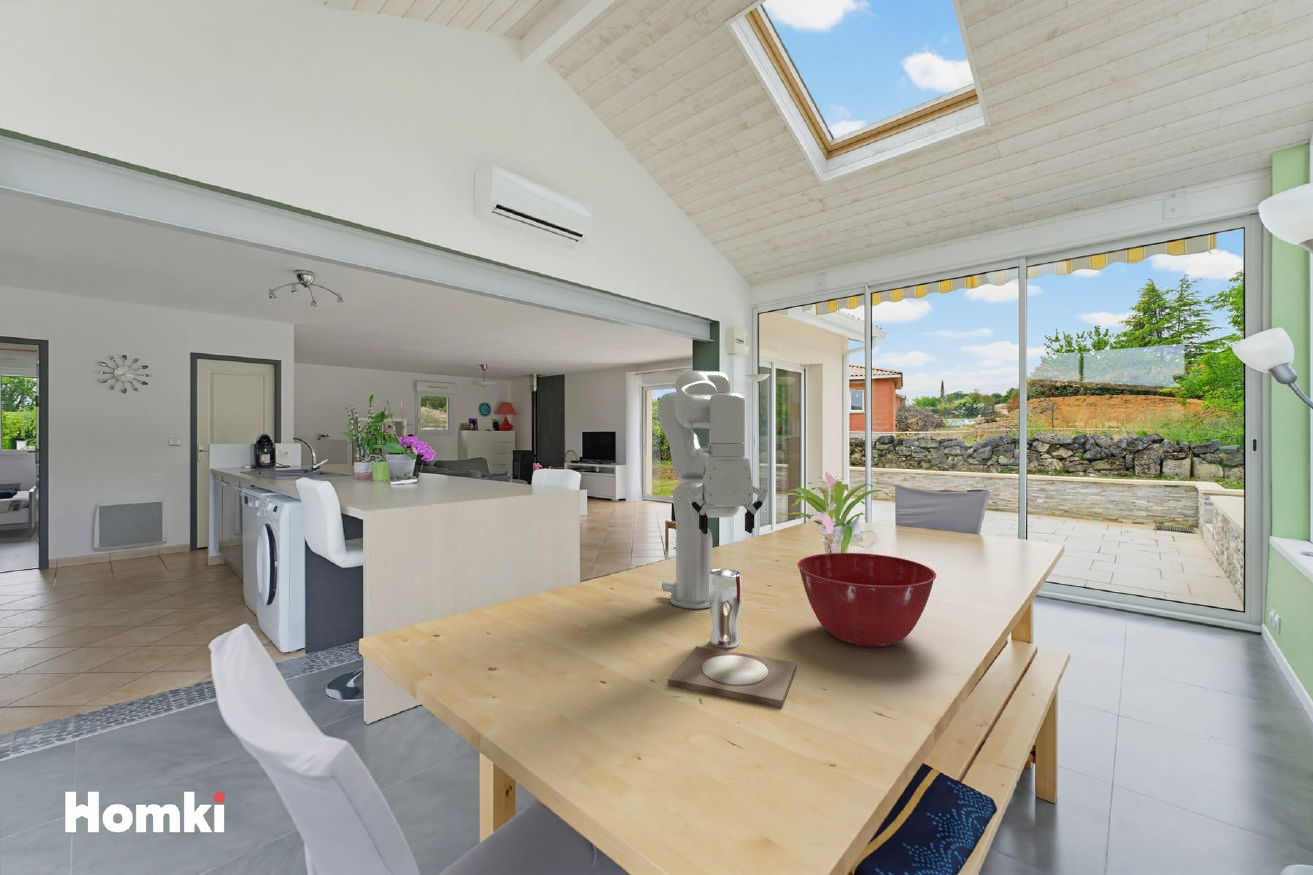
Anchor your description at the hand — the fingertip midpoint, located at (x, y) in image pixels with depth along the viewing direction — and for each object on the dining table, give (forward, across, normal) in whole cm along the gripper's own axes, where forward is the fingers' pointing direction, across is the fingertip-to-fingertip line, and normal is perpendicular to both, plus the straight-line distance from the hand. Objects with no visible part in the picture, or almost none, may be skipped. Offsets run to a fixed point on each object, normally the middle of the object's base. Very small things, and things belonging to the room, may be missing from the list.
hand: (726, 532), depth 117 cm
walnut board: (+24, -3, -16) cm, 29 cm away
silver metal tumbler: (+24, 0, 0) cm, 24 cm away
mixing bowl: (+24, +31, 0) cm, 39 cm away
